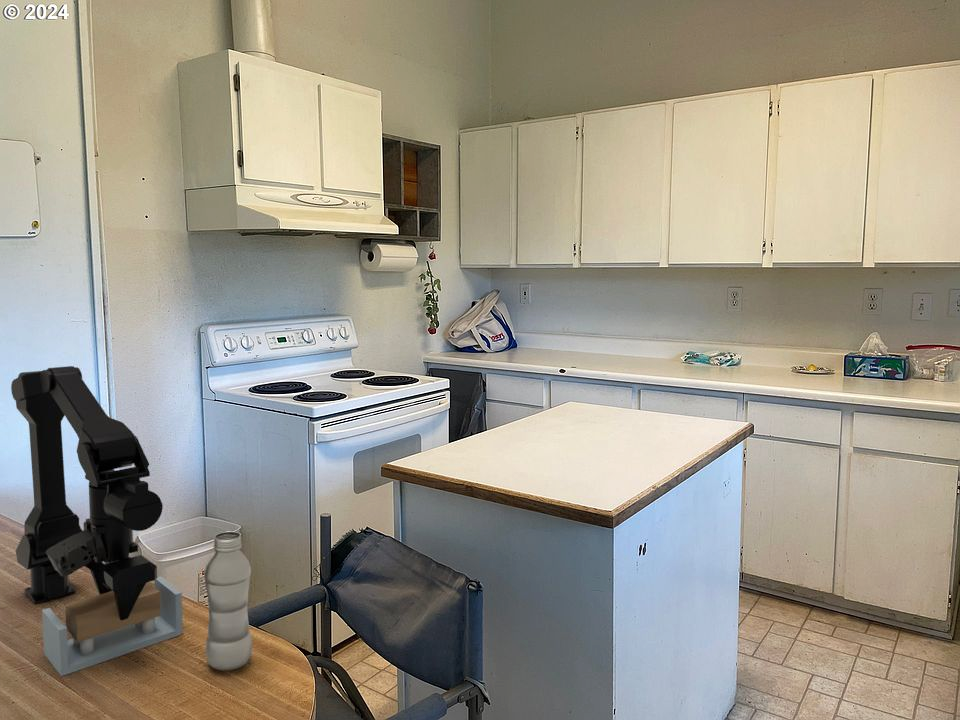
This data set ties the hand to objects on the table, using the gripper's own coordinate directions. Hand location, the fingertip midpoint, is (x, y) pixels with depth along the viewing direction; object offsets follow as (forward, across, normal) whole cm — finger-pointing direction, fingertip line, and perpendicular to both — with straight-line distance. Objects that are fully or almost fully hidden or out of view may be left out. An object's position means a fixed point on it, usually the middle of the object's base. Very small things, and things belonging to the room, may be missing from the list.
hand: (114, 610), depth 111 cm
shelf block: (+2, 0, 0) cm, 2 cm away
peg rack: (+6, 0, 0) cm, 6 cm away
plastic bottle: (+6, +17, +10) cm, 21 cm away
